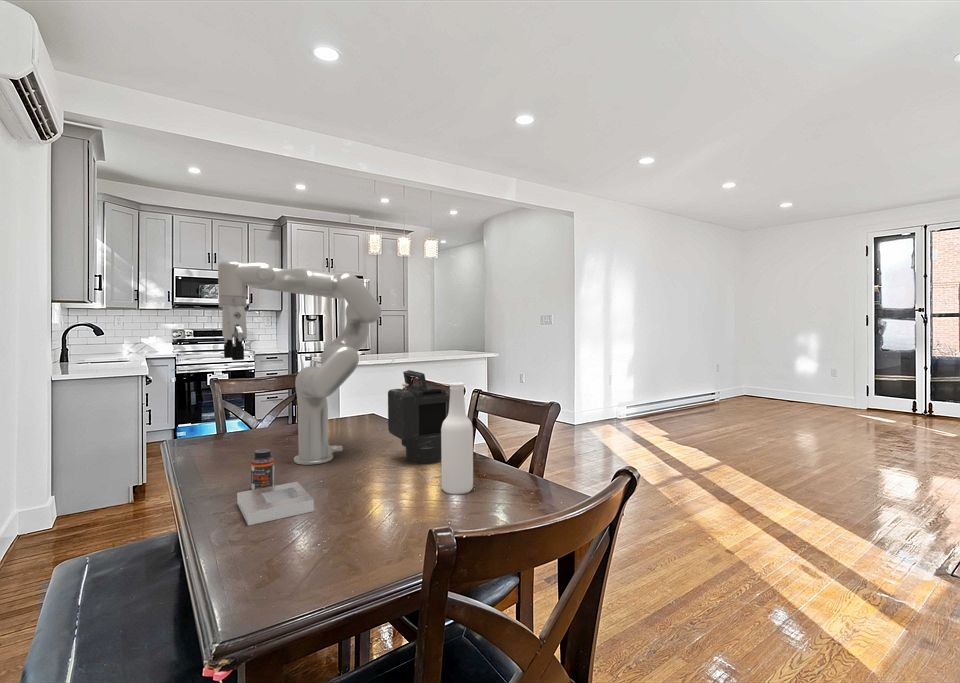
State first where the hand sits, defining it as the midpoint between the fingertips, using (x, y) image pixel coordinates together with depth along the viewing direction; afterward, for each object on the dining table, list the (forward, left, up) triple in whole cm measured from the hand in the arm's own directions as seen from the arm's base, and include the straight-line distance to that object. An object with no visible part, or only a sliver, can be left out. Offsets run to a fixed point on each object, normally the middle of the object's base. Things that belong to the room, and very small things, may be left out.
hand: (233, 358), depth 150 cm
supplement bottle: (-4, +20, -36) cm, 41 cm away
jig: (-4, +35, -36) cm, 50 cm away
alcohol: (-49, +50, -36) cm, 79 cm away
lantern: (-54, +18, -36) cm, 67 cm away
